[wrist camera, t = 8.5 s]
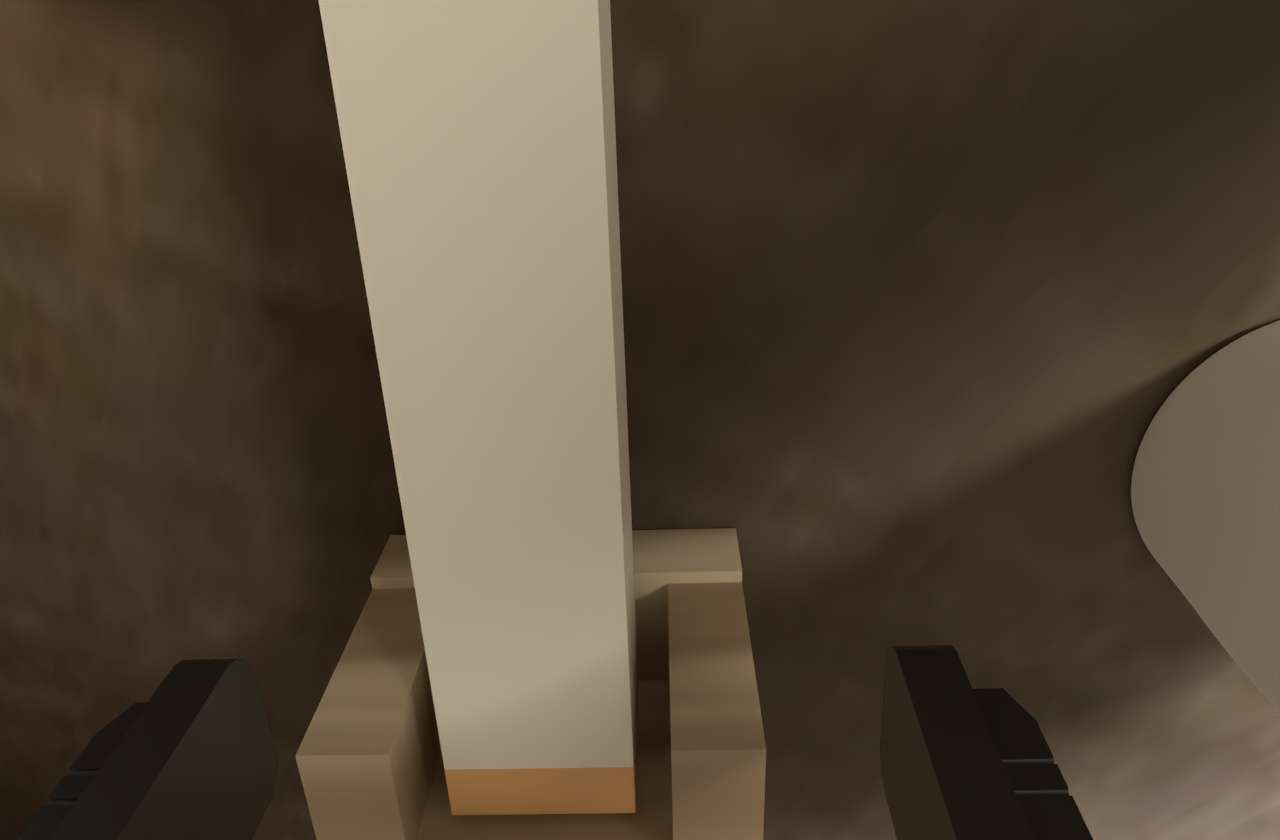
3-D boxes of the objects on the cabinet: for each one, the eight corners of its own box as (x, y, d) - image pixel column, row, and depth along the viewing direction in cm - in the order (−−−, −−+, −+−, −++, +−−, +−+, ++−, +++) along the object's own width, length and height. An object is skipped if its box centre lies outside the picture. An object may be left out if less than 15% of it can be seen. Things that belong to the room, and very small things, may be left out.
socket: (390, 534, 19) (291, 743, 14) (735, 528, 19) (766, 736, 14) (414, 674, 20) (334, 908, 15) (734, 669, 20) (761, 904, 15)
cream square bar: (311, -593, 10) (187, -800, 7) (584, -608, 10) (559, -822, 7) (482, 688, 18) (452, 815, 15) (638, 685, 18) (635, 812, 15)
